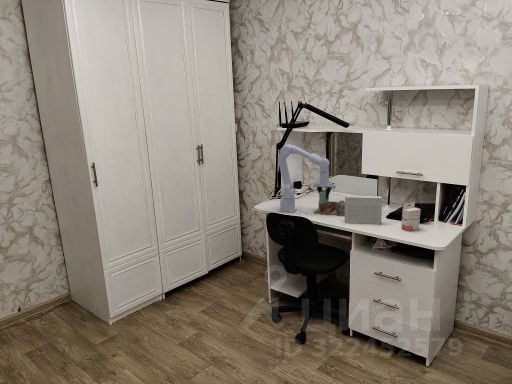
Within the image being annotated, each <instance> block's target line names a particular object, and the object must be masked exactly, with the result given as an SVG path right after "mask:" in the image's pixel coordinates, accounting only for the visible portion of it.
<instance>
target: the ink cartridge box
mask: <svg viewBox="0 0 512 384" xmlns="http://www.w3.org/2000/svg"><path fill="white" fill-rule="evenodd" d="M402 205H403V206H402V211H401V212H402V214H401V217H402V218H401V229H402V230H403V229H404V231H406V232H410V231H415V229H417V230H419V229H420V220H421V208H418V207H415V205H416V202H415V201H413V202H408V203H407V202H406V203H403V204H402Z"/></svg>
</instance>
